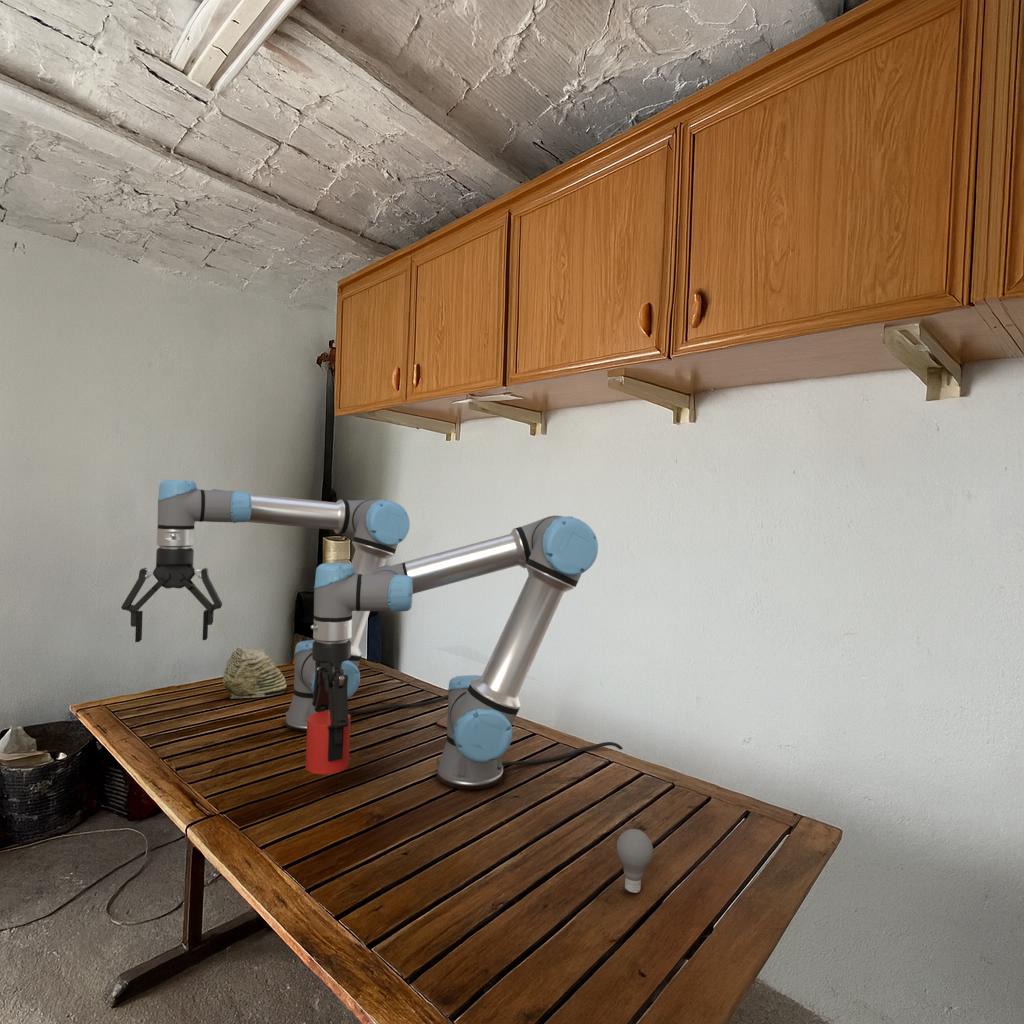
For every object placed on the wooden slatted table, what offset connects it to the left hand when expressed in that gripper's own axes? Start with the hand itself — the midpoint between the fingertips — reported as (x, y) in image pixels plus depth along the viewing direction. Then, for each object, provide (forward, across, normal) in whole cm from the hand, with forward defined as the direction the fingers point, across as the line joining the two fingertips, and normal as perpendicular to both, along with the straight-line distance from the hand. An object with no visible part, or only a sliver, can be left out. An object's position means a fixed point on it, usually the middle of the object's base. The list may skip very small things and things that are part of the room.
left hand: (172, 640), depth 145 cm
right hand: (+17, +33, -30) cm, 48 cm away
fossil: (+29, +16, +50) cm, 60 cm away
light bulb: (+29, +80, -71) cm, 111 cm away
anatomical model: (+29, +73, +12) cm, 79 cm away
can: (+20, +33, -30) cm, 49 cm away
